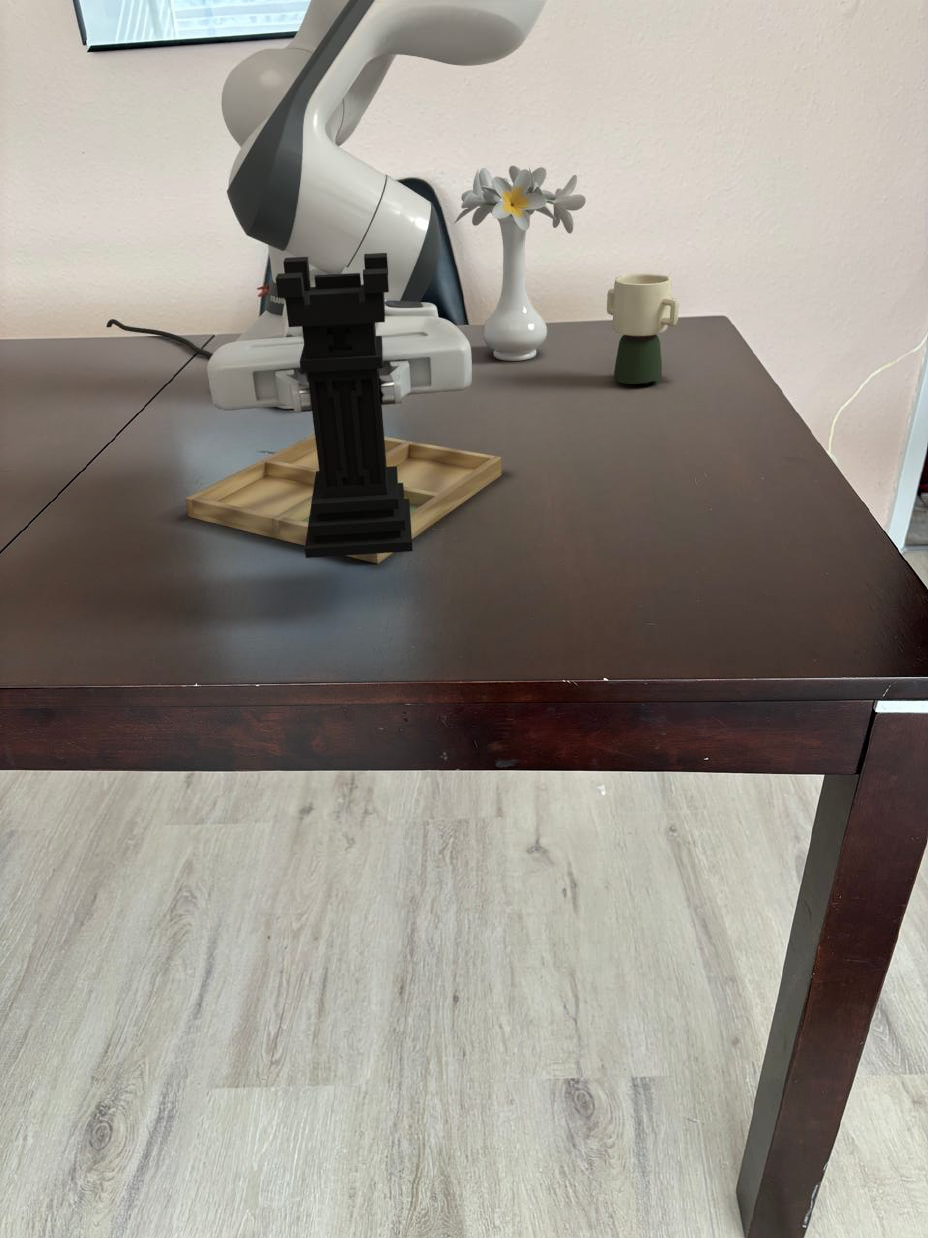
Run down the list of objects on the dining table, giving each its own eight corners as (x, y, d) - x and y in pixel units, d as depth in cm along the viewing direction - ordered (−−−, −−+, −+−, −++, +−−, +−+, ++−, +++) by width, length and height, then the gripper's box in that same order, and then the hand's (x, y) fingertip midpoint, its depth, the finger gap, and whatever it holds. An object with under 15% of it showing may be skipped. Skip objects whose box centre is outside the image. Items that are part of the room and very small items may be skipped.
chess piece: (312, 513, 78) (280, 256, 68) (409, 507, 78) (392, 251, 68) (305, 558, 71) (268, 280, 61) (412, 551, 72) (393, 273, 61)
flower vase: (593, 349, 139) (599, 160, 126) (498, 376, 129) (495, 173, 116) (531, 334, 148) (531, 156, 135) (439, 358, 138) (429, 168, 125)
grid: (188, 517, 92) (184, 498, 91) (329, 443, 109) (327, 426, 108) (378, 564, 82) (376, 543, 81) (501, 475, 98) (501, 456, 97)
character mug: (688, 383, 123) (697, 279, 116) (654, 396, 119) (661, 288, 112) (621, 368, 130) (626, 269, 123) (587, 380, 126) (590, 278, 119)
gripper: (204, 319, 77) (192, 365, 65) (452, 300, 80) (484, 342, 68) (216, 395, 80) (208, 453, 69) (455, 375, 83) (486, 427, 71)
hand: (348, 397), depth 68 cm, fingers closed on chess piece, 5 cm apart
